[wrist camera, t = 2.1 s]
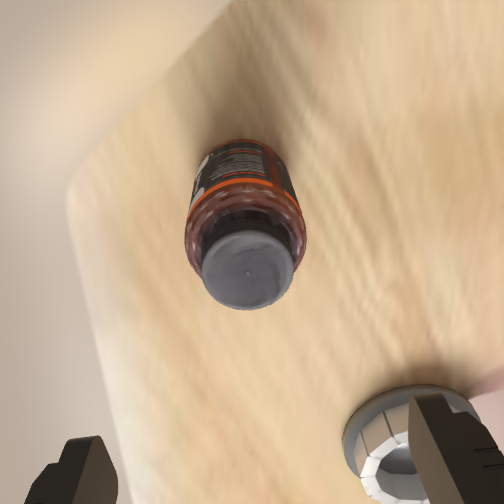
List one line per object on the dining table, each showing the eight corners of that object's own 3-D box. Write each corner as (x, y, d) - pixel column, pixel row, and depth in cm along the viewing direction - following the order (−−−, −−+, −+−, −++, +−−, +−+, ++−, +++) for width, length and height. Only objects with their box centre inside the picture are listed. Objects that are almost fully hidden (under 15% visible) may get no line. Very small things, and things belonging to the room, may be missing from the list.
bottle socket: (411, 362, 37) (428, 394, 34) (505, 423, 41) (527, 457, 37) (314, 447, 41) (321, 482, 38) (407, 495, 45) (420, 531, 42)
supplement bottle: (176, 169, 29) (146, 254, 19) (257, 117, 28) (271, 178, 17) (229, 240, 31) (227, 349, 21) (305, 196, 30) (341, 289, 20)
